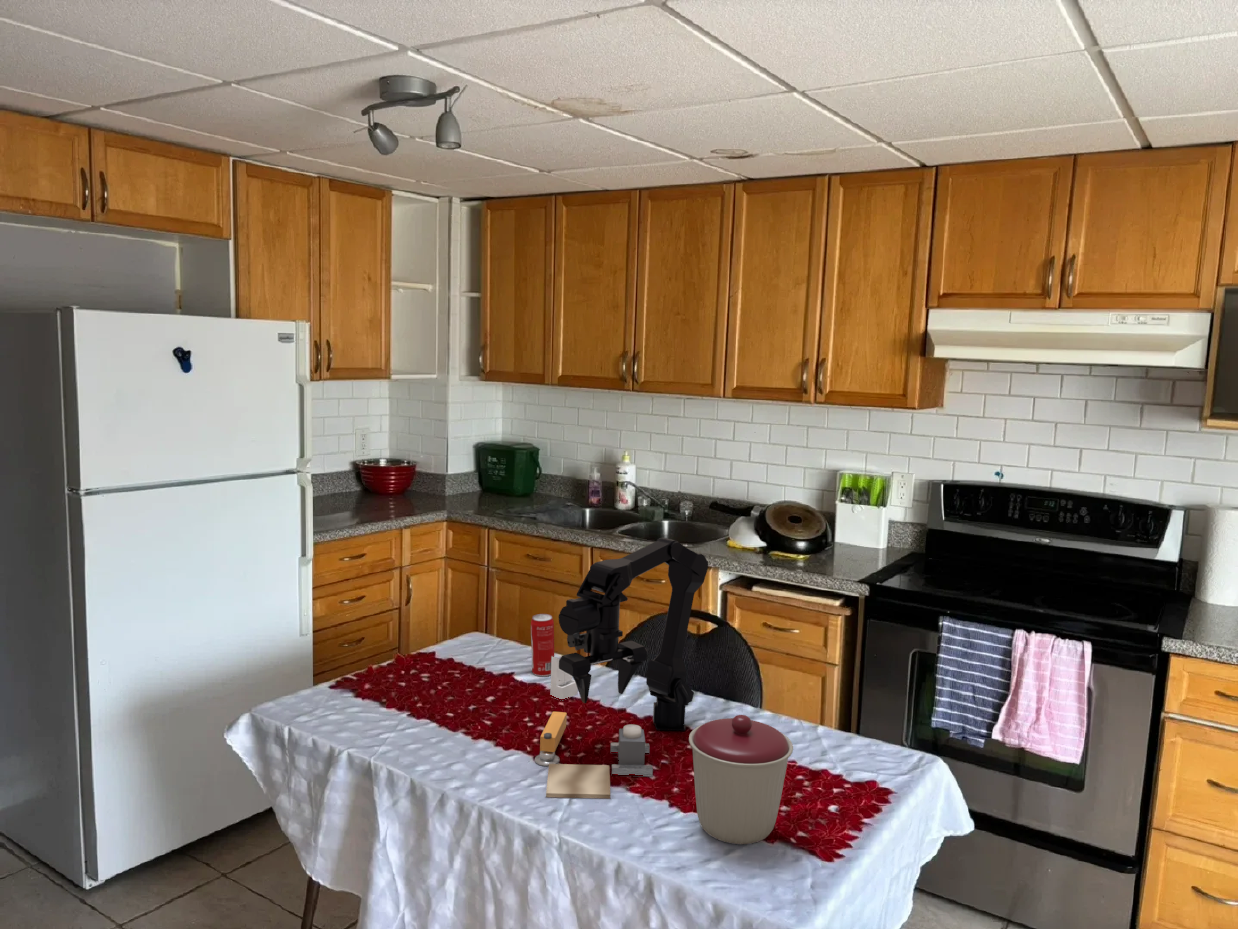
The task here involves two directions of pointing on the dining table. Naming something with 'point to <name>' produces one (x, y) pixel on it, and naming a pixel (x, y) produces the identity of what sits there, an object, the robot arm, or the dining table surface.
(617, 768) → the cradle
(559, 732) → the latch
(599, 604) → the robot arm
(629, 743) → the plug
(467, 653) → the dining table surface
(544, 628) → the beverage can
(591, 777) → the board
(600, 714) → the dining table surface
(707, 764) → the canister
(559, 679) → the white angled block
